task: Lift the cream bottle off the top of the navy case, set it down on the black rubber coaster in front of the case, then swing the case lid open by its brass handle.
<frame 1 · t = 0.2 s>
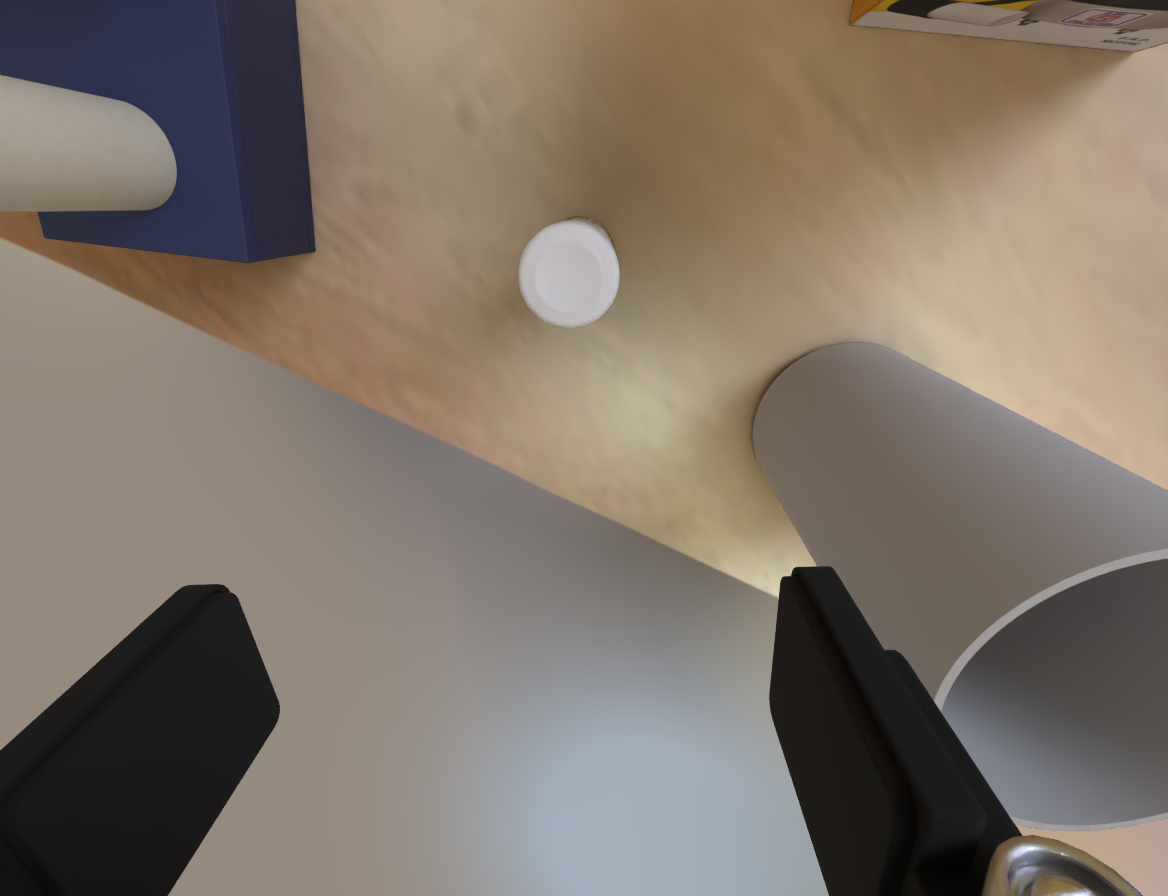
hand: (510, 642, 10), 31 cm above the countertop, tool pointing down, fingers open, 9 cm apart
case: (216, 121, 34), on the countertop
sprinkles bottle: (581, 252, 37), on the countertop
case lid: (80, 82, 25), point 10 cm above the countertop, hinge at -0.1°, touching bottle
cylinder vase: (835, 422, 41), on the countertop
bottle: (127, 156, 28), point 8 cm above the countertop, touching case lid
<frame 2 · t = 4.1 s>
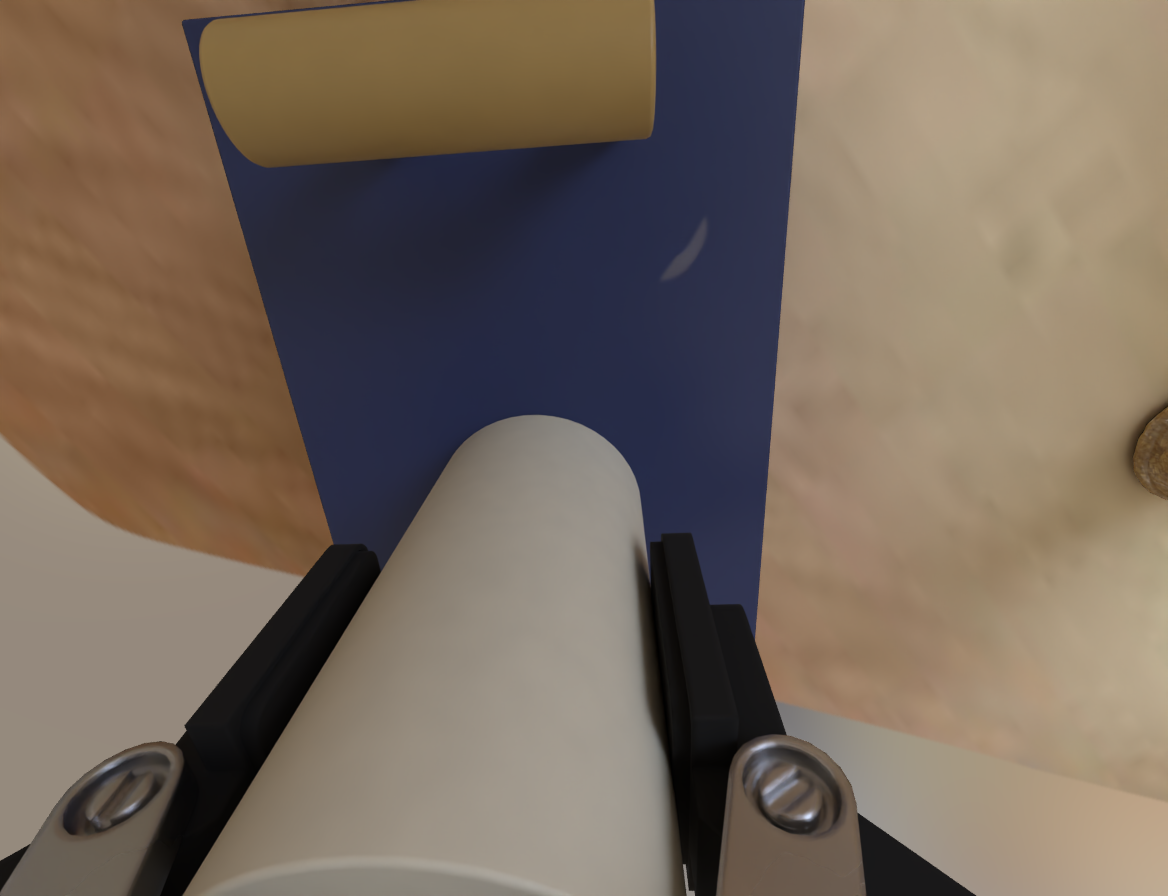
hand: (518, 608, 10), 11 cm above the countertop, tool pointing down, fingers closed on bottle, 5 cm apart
case lid: (515, 428, 11), point 10 cm above the countertop, hinge at -0.1°, touching bottle
bottle: (540, 508, 14), point 8 cm above the countertop, touching case lid, gripper
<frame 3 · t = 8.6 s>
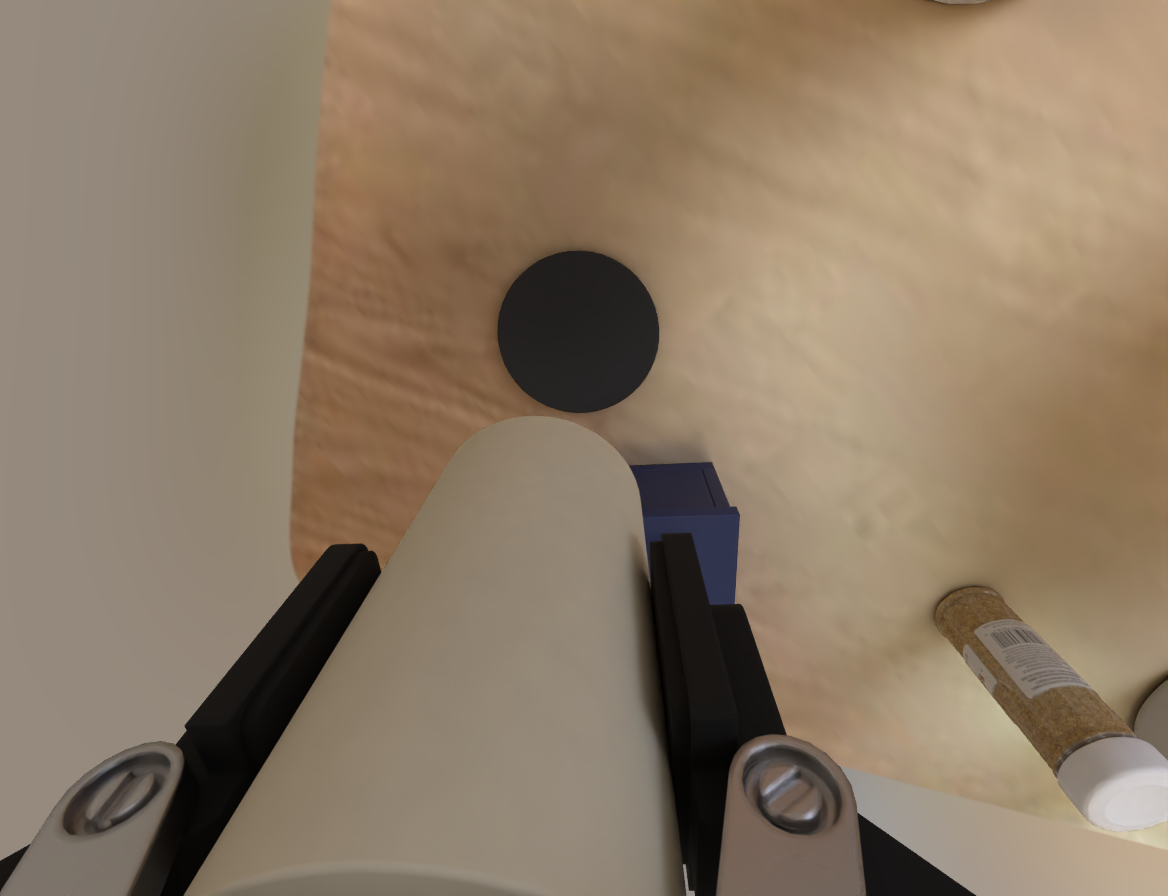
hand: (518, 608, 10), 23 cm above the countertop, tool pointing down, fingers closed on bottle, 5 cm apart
case: (626, 559, 37), on the countertop
coaster: (578, 334, 31), on the countertop
sprinkles bottle: (965, 608, 38), on the countertop
case lid: (631, 662, 28), point 10 cm above the countertop, hinge at -0.1°
bottle: (540, 509, 14), point 19 cm above the countertop, touching gripper
when the fingers open (4 cm above the countertop, at t = 13.0 s): bottle stays where it is, resting on coaster.
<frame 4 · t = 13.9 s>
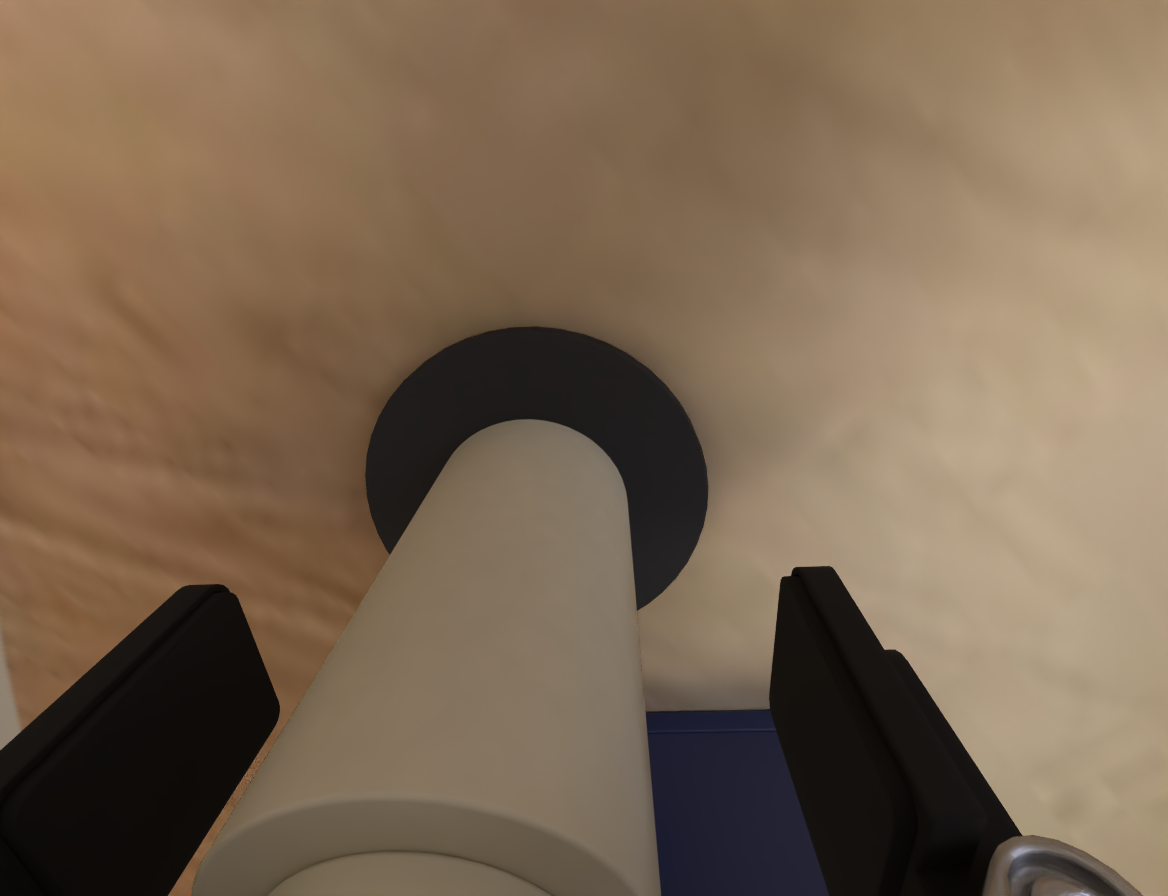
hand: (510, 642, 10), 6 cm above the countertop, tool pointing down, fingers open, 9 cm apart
case: (634, 846, 21), on the countertop
coaster: (538, 491, 15), on the countertop
bottle: (532, 507, 15), point 1 cm above the countertop, touching coaster
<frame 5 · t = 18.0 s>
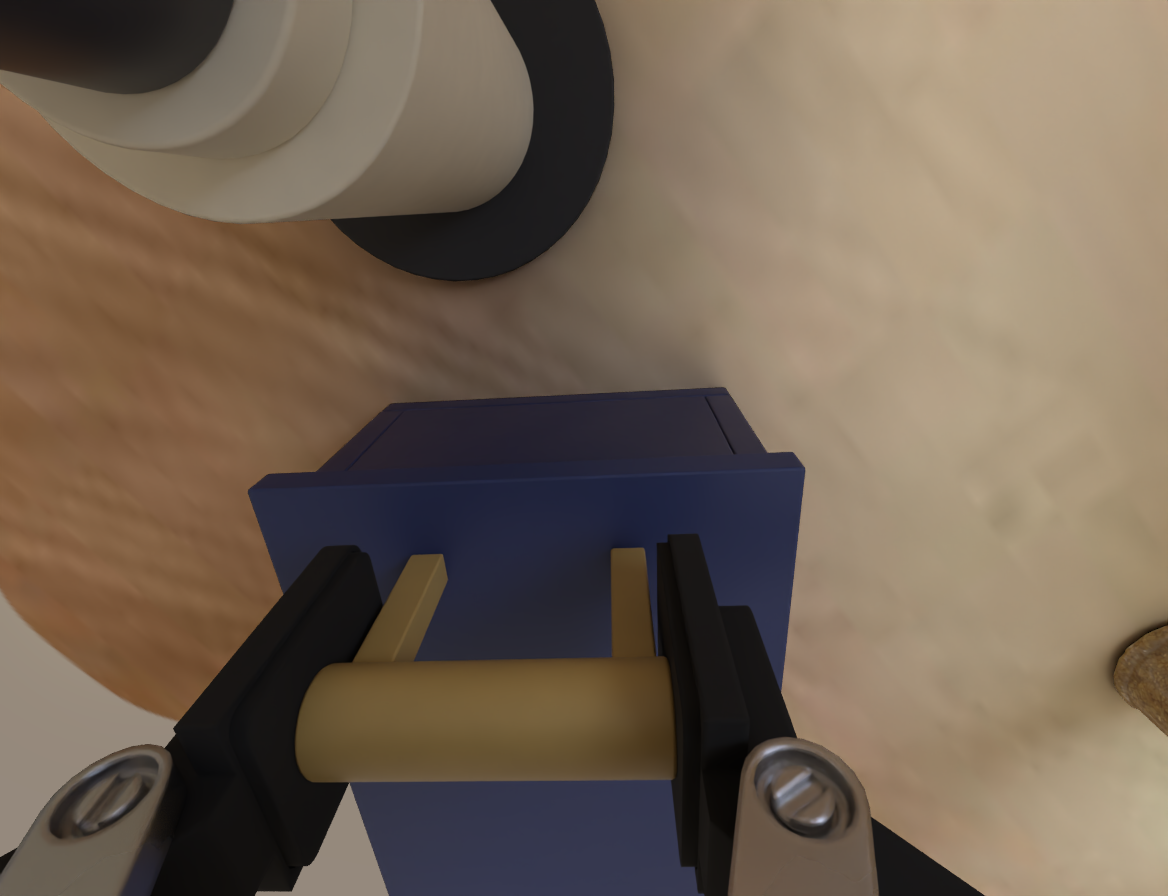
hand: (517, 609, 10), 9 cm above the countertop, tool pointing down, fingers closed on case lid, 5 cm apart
case: (570, 571, 21), on the countertop
coaster: (447, 105, 15), on the countertop
sprinkles bottle: (1166, 656, 22), on the countertop
case lid: (542, 822, 12), point 10 cm above the countertop, hinge at -0.1°, touching gripper
bottle: (438, 108, 14), point 1 cm above the countertop, touching coaster
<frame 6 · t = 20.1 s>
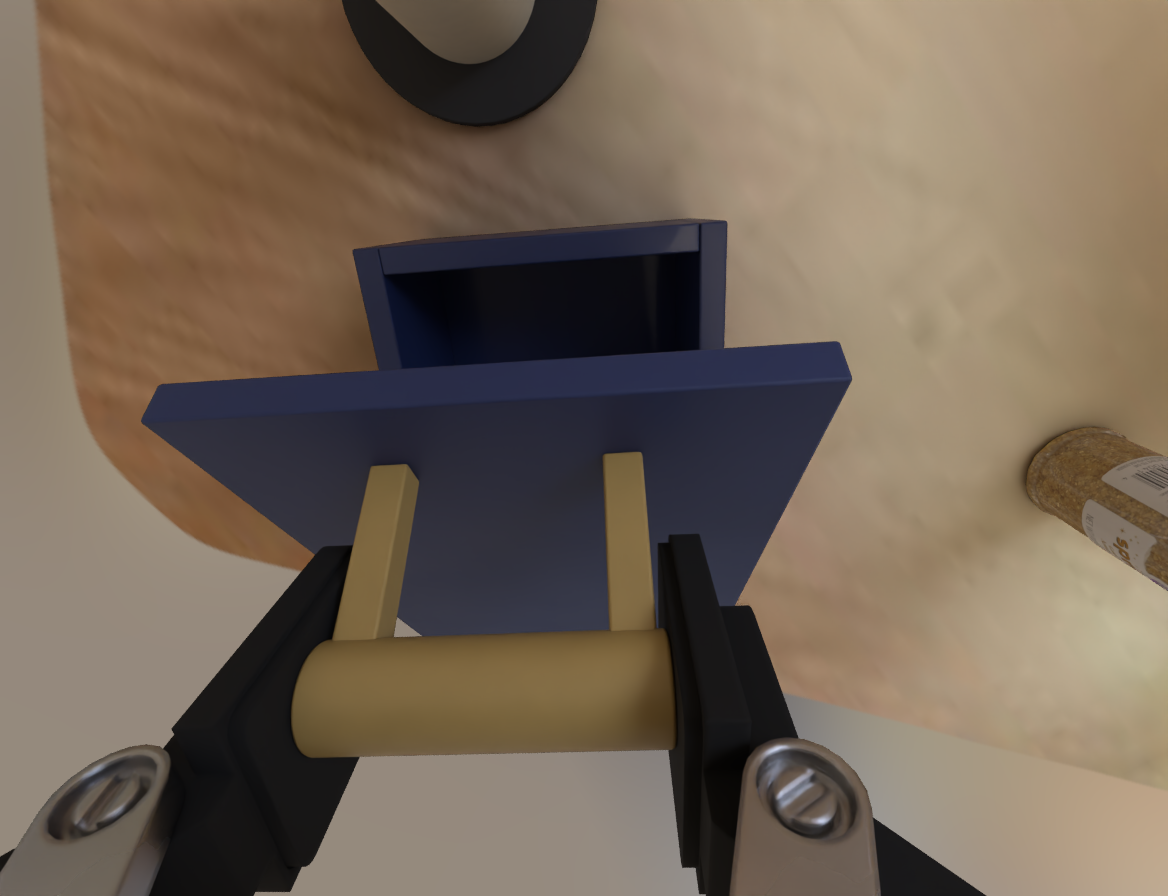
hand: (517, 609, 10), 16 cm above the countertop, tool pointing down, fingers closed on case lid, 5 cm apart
case: (569, 395, 25), on the countertop
sprinkles bottle: (1070, 466, 26), on the countertop
case lid: (545, 644, 14), point 13 cm above the countertop, hinge at 34.6°, touching gripper
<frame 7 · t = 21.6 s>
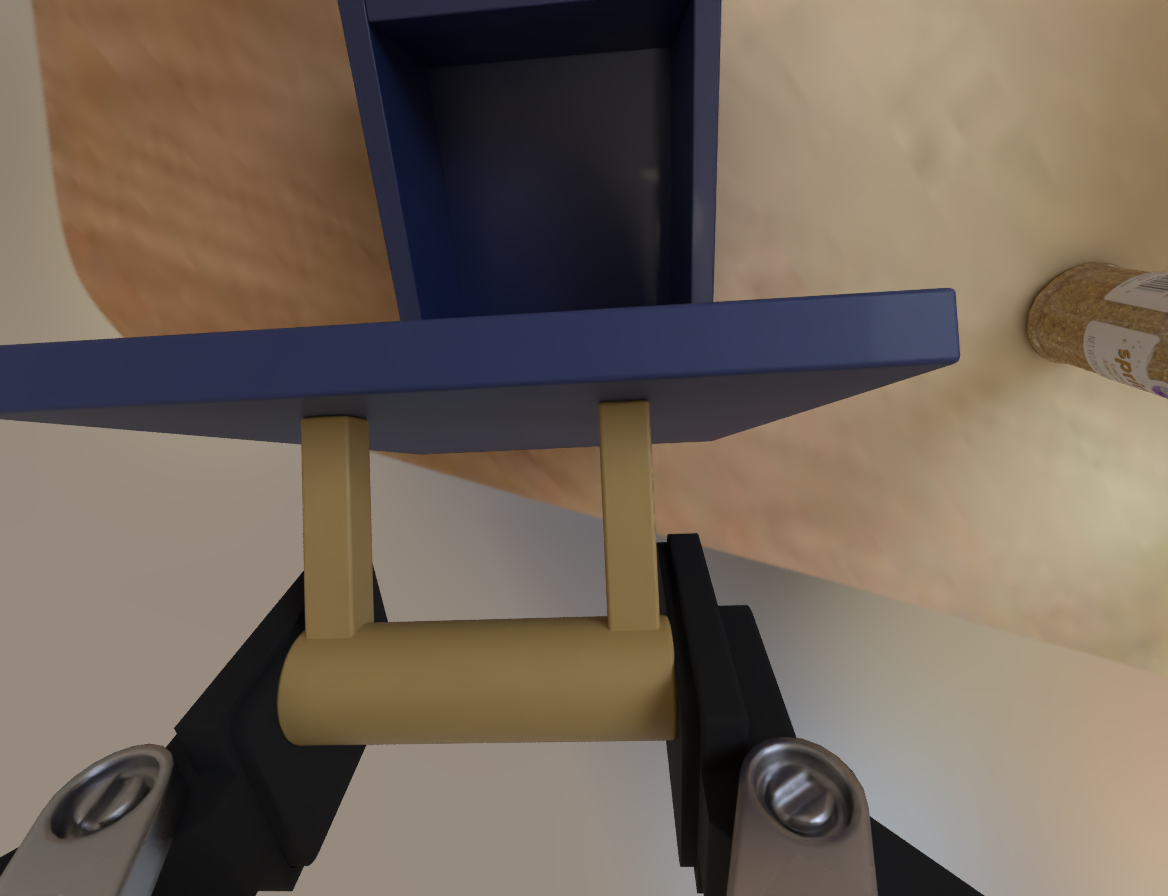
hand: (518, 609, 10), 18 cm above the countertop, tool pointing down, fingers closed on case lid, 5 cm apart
case: (562, 229, 25), on the countertop
sprinkles bottle: (1072, 311, 25), on the countertop
case lid: (537, 513, 13), point 15 cm above the countertop, hinge at 63.9°, touching gripper
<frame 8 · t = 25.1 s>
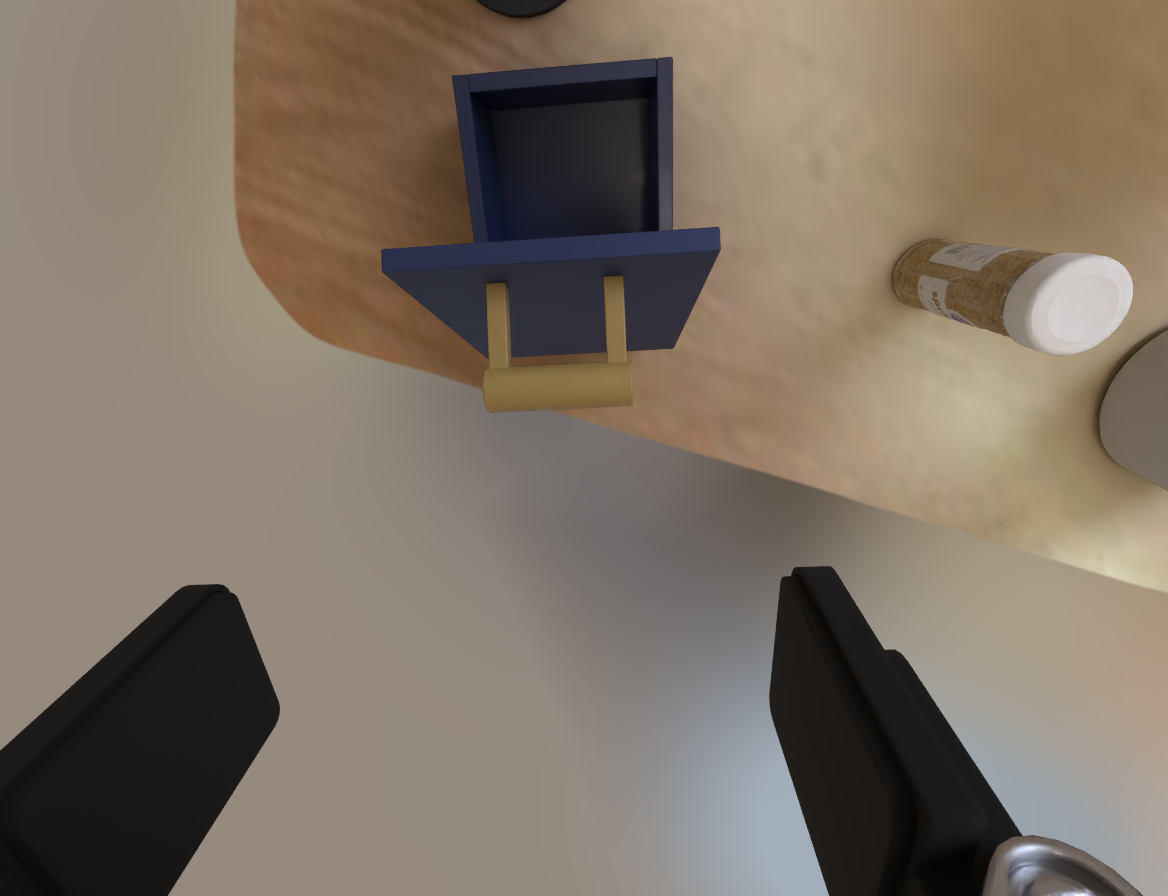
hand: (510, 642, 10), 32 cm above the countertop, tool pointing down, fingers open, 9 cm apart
case: (577, 216, 37), on the countertop
sprinkles bottle: (924, 273, 37), on the countertop
case lid: (570, 362, 25), point 15 cm above the countertop, hinge at 64.3°
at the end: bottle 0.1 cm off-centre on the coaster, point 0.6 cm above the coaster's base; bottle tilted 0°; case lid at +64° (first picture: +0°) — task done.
